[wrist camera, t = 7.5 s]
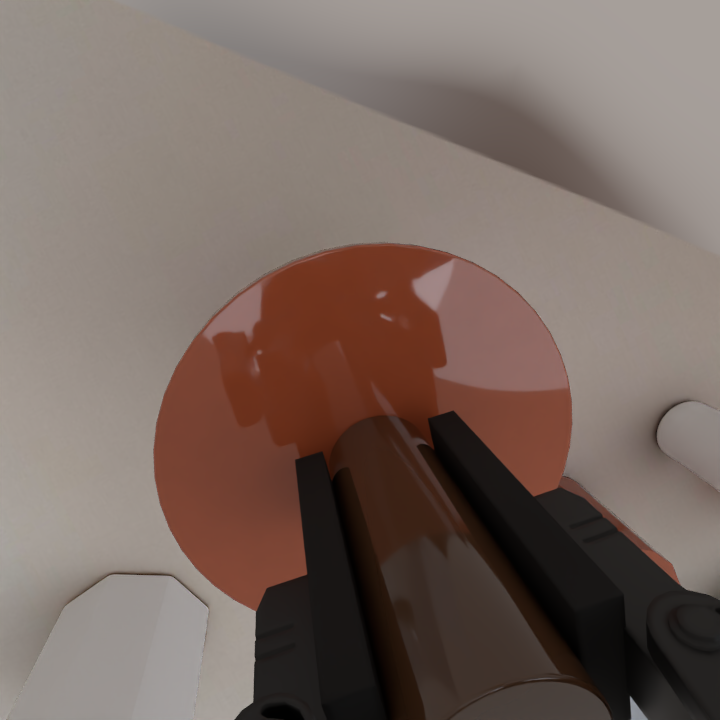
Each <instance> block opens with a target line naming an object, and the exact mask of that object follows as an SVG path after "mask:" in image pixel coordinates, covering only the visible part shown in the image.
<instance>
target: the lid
mask: <svg viewBox="0 0 720 720" xmlns="http://www.w3.org/2000/svg"><path fill="white" fill-rule="evenodd" d="M453 410H454V411H455V412H456V413H457V414H458V416H459V417H460V418H461V419H462V420H463V421H464V422H465V423H466V424H467V425H468V426H469V427H470V429H471V430H472V431H473V432H474V433H475V434H476V435H477V436H478V437H479V438H480V439H481V440H482V441H483V443H484V444H485V445H486V446H487V447H488V448H489V449H490V450H491V451H492V452H493V453H494V454H495V456H496V457H497V458H498V459H499V460H500V461H501V462H502V463H503V464H504V465H505V466H506V467H507V468H508V470H509V471H510V472H511V473H512V474H513V475H514V476H515V477H516V478H517V479H518V480H519V481H520V482H521V484H522V485H523V486H524V487H525V488H526V489H527V490H528V491H529V492H530V493H531V494H532V495H533V496H536V495H539V494H542V493H545V492H548V491H551V490H554V489H557V488H558V485H559V483H560V480H561V477H562V474H563V472H564V469H565V464H566V460H567V456H568V452H569V448H570V439H571V430H572V399H571V393H570V387H569V381H568V376H567V373H566V370H565V366H564V363H563V360H562V357H561V354H560V352H559V350H558V348H557V346H556V344H555V342H554V339H553V337H552V335H551V333H550V331H549V330H548V328H547V327H546V325H545V324H544V323H543V321H542V320H541V318H540V317H539V315H538V314H537V312H536V311H535V310H534V309H533V308H532V307H531V306H530V305H529V304H528V302H527V301H526V300H525V299H524V298H523V297H522V296H521V295H520V294H519V293H518V292H517V291H516V290H514V289H513V288H512V287H511V286H509V285H508V284H507V283H505V282H504V281H503V280H502V279H500V278H499V277H498V276H496V275H495V274H493V273H491V272H489V271H487V270H486V269H484V268H482V267H480V266H479V265H477V264H475V263H473V262H471V261H468V260H466V259H463V258H460V257H458V256H455V255H452V254H450V253H447V252H443V251H439V250H435V249H430V248H426V247H421V246H417V245H412V244H400V243H388V242H376V243H359V244H349V245H344V246H339V247H334V248H329V249H324V250H320V251H317V252H314V253H311V254H309V255H306V256H303V257H300V258H297V259H294V260H291V261H289V262H287V263H285V264H283V265H281V266H279V267H277V268H275V269H273V270H271V271H269V272H267V273H265V274H264V275H262V276H261V277H259V278H258V279H256V280H255V281H253V282H252V283H250V284H249V285H247V286H246V287H244V288H243V289H241V290H240V291H239V292H237V293H236V294H235V295H234V296H233V297H232V298H231V299H230V300H228V301H227V302H226V303H225V304H224V305H223V306H222V307H221V308H220V309H218V310H217V311H216V312H215V313H214V314H213V315H212V317H211V318H210V319H209V320H208V321H207V323H206V324H205V325H204V326H203V327H202V329H201V330H200V331H199V332H198V333H197V335H196V336H195V337H194V339H193V340H192V342H191V344H190V345H189V347H188V348H187V350H186V352H185V353H184V355H183V356H182V358H181V360H180V361H179V363H178V365H177V366H176V368H175V370H174V373H173V375H172V377H171V380H170V382H169V384H168V386H167V389H166V391H165V393H164V396H163V400H162V404H161V407H160V411H159V415H158V419H157V422H156V431H155V440H154V449H153V454H154V476H155V482H156V487H157V492H158V497H159V501H160V505H161V508H162V510H163V513H164V516H165V518H166V521H167V524H168V526H169V528H170V530H171V532H172V534H173V536H174V537H175V539H176V541H177V543H178V544H179V546H180V548H181V550H182V551H183V552H184V554H185V555H186V556H187V557H188V559H189V560H190V561H191V562H192V564H193V565H194V566H195V568H196V569H197V570H198V571H199V572H200V573H201V574H202V575H203V576H204V577H206V578H207V579H208V580H209V581H210V582H211V583H212V584H213V585H214V586H215V587H217V588H218V589H219V590H221V591H222V592H224V593H225V594H226V595H228V596H229V597H231V598H232V599H233V600H235V601H237V602H239V603H241V604H243V605H245V606H246V607H248V608H250V609H252V610H254V611H257V609H258V606H259V604H260V602H261V600H262V597H263V595H264V593H265V591H266V588H268V587H271V586H274V585H277V584H280V583H283V582H286V581H289V580H292V579H295V578H298V577H301V576H304V575H307V568H306V558H305V549H304V540H303V530H302V521H301V512H300V502H299V493H298V484H297V474H296V465H295V460H296V459H299V458H302V457H305V456H309V455H312V454H315V453H318V452H321V451H323V454H324V458H325V461H326V464H327V467H328V471H329V474H330V477H331V480H332V484H333V488H334V493H335V497H336V501H337V505H338V510H339V514H340V518H341V522H342V527H343V531H344V535H345V539H346V544H347V548H348V552H349V556H350V561H351V565H352V569H353V573H354V578H355V582H356V586H357V590H358V595H359V599H360V603H361V607H362V612H363V616H364V620H365V624H366V629H367V633H368V637H369V641H370V646H371V650H372V654H373V658H374V663H375V667H376V671H377V675H378V680H379V684H380V688H381V692H382V697H383V701H384V705H385V709H386V714H387V718H388V720H613V715H612V711H611V708H610V706H609V703H608V701H607V700H606V698H605V697H604V695H603V694H602V692H601V691H600V689H599V688H598V686H597V685H596V684H595V682H594V681H593V679H592V678H591V676H590V675H589V673H588V672H587V671H586V669H585V668H584V666H583V665H582V663H581V662H580V660H579V659H578V658H577V656H576V655H575V653H574V652H573V650H572V649H571V647H570V646H569V645H568V643H567V642H566V640H565V639H564V637H563V636H562V634H561V633H560V632H559V630H558V629H557V627H556V626H555V624H554V623H553V621H552V620H551V619H550V617H549V616H548V614H547V613H546V611H545V610H544V608H543V607H542V606H541V604H540V603H539V601H538V600H537V598H536V597H535V595H534V594H533V593H532V591H531V590H530V588H529V587H528V585H527V584H526V583H525V581H524V580H523V578H522V577H521V575H520V574H519V572H518V571H517V570H516V568H515V567H514V565H513V564H512V562H511V561H510V559H509V558H508V557H507V555H506V554H505V552H504V551H503V549H502V548H501V546H500V545H499V544H498V542H497V541H496V539H495V538H494V536H493V535H492V533H491V532H490V531H489V529H488V528H487V526H486V525H485V523H484V522H483V520H482V519H481V518H480V516H479V515H478V513H477V512H476V510H475V509H474V507H473V506H472V505H471V503H470V502H469V500H468V499H467V497H466V496H465V494H464V493H463V492H462V490H461V489H460V487H459V486H458V484H457V483H456V481H455V480H454V479H453V477H452V476H451V474H450V473H449V471H448V470H447V468H446V467H445V466H444V464H443V463H442V461H441V460H440V458H439V457H438V455H437V454H436V453H435V451H434V446H433V441H432V437H431V432H430V427H429V423H428V418H431V417H434V416H437V415H440V414H443V413H447V412H450V411H453Z"/></svg>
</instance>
